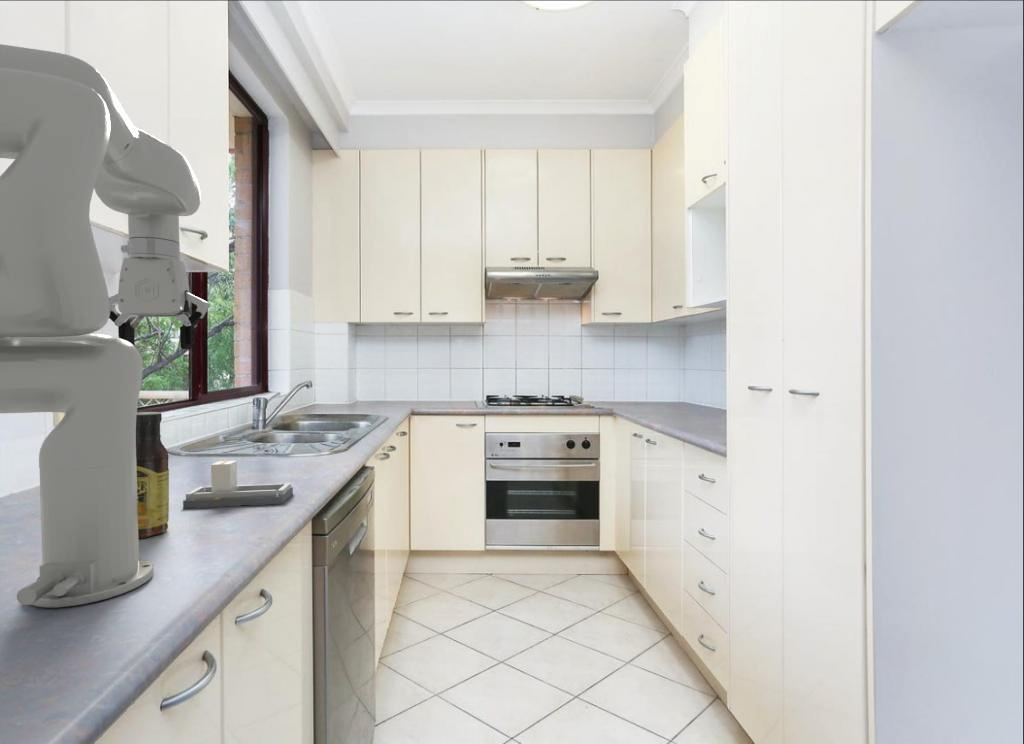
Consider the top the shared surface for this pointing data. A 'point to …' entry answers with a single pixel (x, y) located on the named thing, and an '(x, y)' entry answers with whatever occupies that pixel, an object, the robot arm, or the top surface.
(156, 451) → the sauce bottle
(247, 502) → the grey shallow tray
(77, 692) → the top surface
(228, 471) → the fader cap
